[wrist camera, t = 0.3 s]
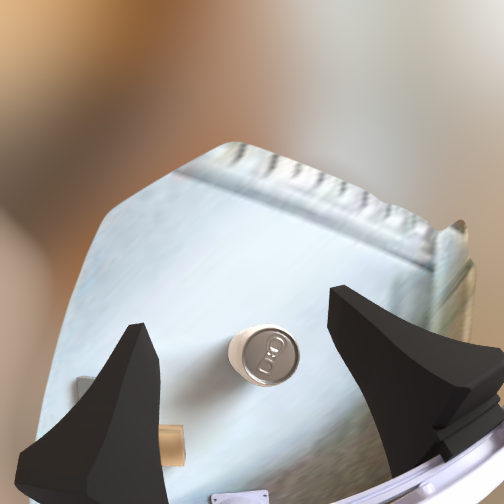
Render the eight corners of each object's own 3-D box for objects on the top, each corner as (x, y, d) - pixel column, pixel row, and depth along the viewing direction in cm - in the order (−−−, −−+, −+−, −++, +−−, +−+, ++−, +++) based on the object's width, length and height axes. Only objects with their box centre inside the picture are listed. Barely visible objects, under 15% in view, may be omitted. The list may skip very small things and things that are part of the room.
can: (283, 340, 40) (314, 339, 29) (263, 383, 38) (287, 399, 27) (240, 320, 40) (255, 311, 29) (219, 363, 38) (225, 372, 27)
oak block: (185, 454, 34) (184, 466, 29) (153, 453, 33) (147, 465, 29) (182, 424, 35) (180, 434, 31) (149, 424, 34) (143, 433, 30)
